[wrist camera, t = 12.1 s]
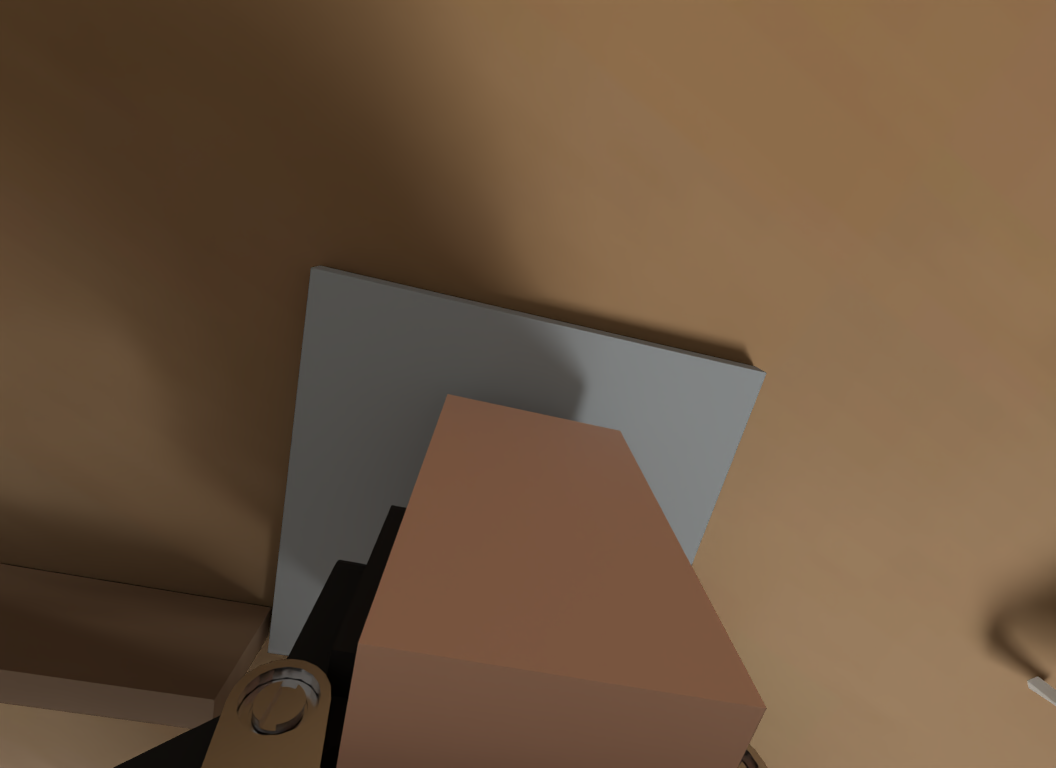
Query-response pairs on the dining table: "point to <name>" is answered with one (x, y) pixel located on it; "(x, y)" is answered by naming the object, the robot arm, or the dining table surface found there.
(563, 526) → the terracotta block
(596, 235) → the dining table surface
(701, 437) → the grey mat
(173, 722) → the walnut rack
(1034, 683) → the white legged piece
